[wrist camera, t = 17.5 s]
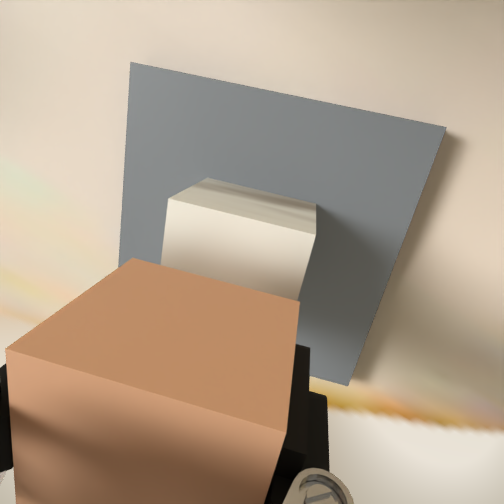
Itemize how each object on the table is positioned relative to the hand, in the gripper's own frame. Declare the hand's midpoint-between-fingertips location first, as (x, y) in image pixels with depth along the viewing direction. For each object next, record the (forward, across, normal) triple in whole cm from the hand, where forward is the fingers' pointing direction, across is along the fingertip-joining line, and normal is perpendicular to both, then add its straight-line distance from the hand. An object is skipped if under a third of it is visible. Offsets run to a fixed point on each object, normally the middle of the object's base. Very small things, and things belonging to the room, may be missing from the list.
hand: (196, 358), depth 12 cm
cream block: (+11, 0, 0) cm, 11 cm away
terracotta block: (+1, 0, 0) cm, 1 cm away
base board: (+13, 0, 0) cm, 13 cm away
